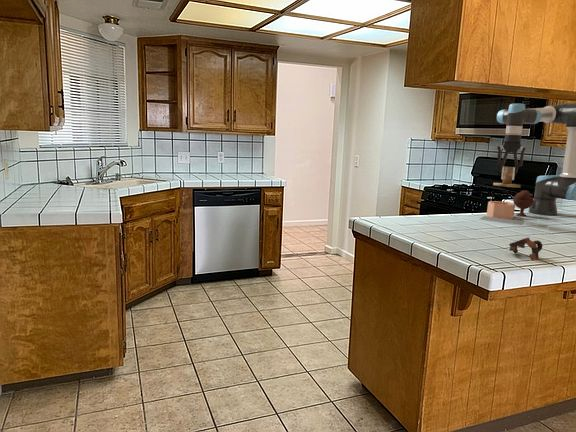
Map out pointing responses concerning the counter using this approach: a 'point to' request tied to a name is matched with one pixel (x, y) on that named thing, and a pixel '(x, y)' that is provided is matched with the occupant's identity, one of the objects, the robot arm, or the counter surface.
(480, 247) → the counter surface
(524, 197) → the ice cream bowl
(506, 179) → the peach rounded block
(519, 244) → the brown curved piece
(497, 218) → the mat
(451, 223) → the counter surface
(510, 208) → the pink squat block
